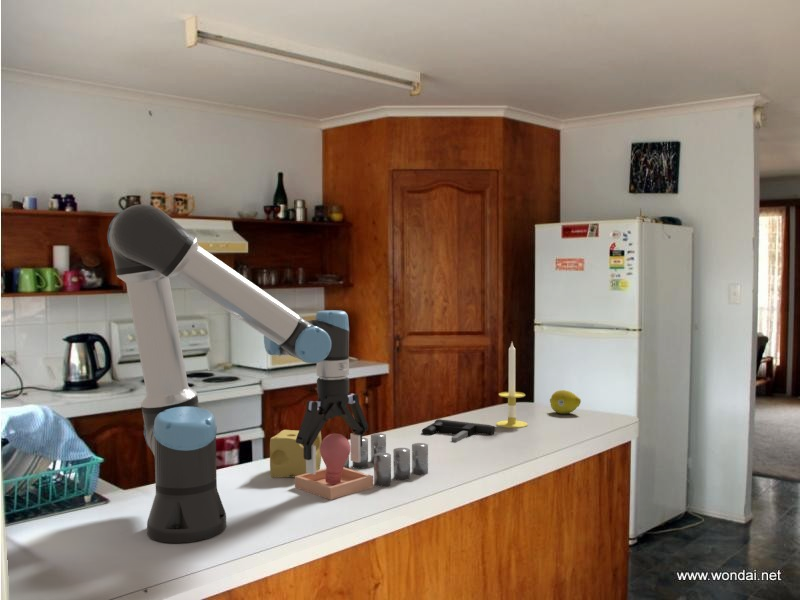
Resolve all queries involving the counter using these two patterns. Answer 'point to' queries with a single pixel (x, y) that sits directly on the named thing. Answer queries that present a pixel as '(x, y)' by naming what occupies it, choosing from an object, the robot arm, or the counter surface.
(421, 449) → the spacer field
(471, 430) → the black submachine gun
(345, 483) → the dish
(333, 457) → the light bulb
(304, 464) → the cheese
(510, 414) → the candle
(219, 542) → the counter surface
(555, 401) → the lemon
